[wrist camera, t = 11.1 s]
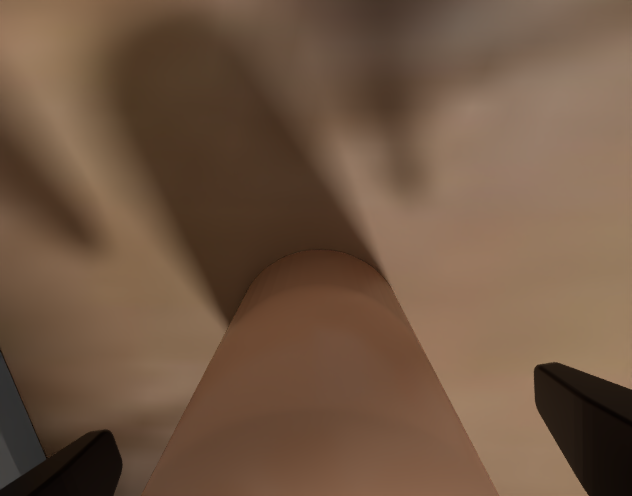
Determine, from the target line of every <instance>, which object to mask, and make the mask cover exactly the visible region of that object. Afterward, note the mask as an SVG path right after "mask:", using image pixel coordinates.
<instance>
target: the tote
mask: <svg viewBox="0 0 632 496" xmlns="http://www.w3.org/2000/svg"><path fill="white" fill-rule="evenodd" d="M45 460H46V457H45V454H44V452H43V450H42V447H41V445H40V443H39V440H38V438H37V436H36V433H35V431H34V429H33V426H32V424H31V422H30V419H29V417H28V415H27V412H26V410H25V408H24V405H23V403H22V401H21V398H20V396H19V394H18V391H17V389H16V387H15V384H14V382H13V380H12V377H11V375H10V373H9V370H8V368H7V366H6V363H5V361H4V359H3V356H2V354H1V352H0V489H2V488H3V487H5V486H6V485H8V484H9V483H11V482H12V481H14V480H15V479H17V478H19V477H20V476H22V475H23V474H25V473H26V472H28V471H29V470H31V469H32V468H34V467H35V466H37V465H39V464H40V463H42V462H43V461H45Z"/></svg>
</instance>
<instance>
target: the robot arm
mask: <svg viewBox="0 0 632 496" xmlns="http://www.w3.org/2000/svg"><path fill="white" fill-rule="evenodd" d="M534 389H535V403H536V406H537V409H538V412H539V413H540V415H541V417H542V419H543V420H544V422H545V424H546V426H547V427H548V429H549V431H550V432H551V434H552V436H553V437H554V439H555V441H556V443H557V444H558V446H559V448H560V449H561V451H562V453H563V455H564V456H565V458H566V460H567V461H568V463H569V465H570V467H571V468H572V470H573V472H574V473H575V475H576V477H577V478H578V480H579V482H580V483H581V485H582V486H583V488H584V489H585V491H586V492H587V494H588V495H589V496H632V390H631V389H629V388H626V387H623V386H620V385H618V384H615V383H612V382H609V381H607V380H604V379H601V378H599V377H596V376H593V375H590V374H588V373H585V372H582V371H580V370H577V369H574V368H571V367H569V366H566V365H563V364H560V363H557V362H553V363H546V364H540V365H537V366H536V367H535V369H534ZM122 465H123V464H122V458H121V455H120V453H119V450H118V447H117V444H116V442H115V439H114V436H113V434H112V432H111V431H109V430H107V429H105V430H98V431H91V432H88V433H86V434H85V435H83V436H82V437H80V438H79V439H77V440H76V441H74V442H72V443H71V444H69V445H68V446H66V447H65V448H63V449H62V450H60V451H59V452H57V453H56V454H54V455H52V456H51V457H49V458H48V459H46V460H45V461H43V462H42V463H40V464H39V465H37V466H35V467H34V468H32V469H31V470H29V471H28V472H26V473H25V474H23V475H22V476H20V477H19V478H17V479H15V480H14V481H12V482H11V483H9V484H8V485H6V486H5V487H3V488H2V489H0V496H113V495H114V492H115V490H116V487H117V484H118V481H119V478H120V476H121V472H122Z"/></svg>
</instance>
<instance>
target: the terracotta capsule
mask: <svg viewBox="0 0 632 496" xmlns="http://www.w3.org/2000/svg"><path fill="white" fill-rule="evenodd" d="M141 496H499V494H498V492H497V490H496V489H495V487H494V485H493V483H492V481H491V479H490V477H489V475H488V473H487V471H486V469H485V467H484V465H483V464H482V462H481V460H480V458H479V456H478V454H477V452H476V450H475V448H474V446H473V444H472V442H471V440H470V439H469V437H468V435H467V433H466V431H465V429H464V427H463V425H462V423H461V421H460V419H459V417H458V415H457V414H456V412H455V410H454V408H453V406H452V404H451V402H450V400H449V398H448V396H447V394H446V392H445V390H444V389H443V387H442V385H441V383H440V381H439V379H438V377H437V375H436V373H435V371H434V369H433V367H432V365H431V363H430V362H429V360H428V358H427V356H426V354H425V352H424V350H423V348H422V346H421V344H420V342H419V340H418V338H417V337H416V335H415V333H414V331H413V329H412V327H411V325H410V323H409V321H408V319H407V317H406V315H405V313H404V312H403V310H402V308H401V306H400V304H399V302H398V300H397V298H396V296H395V294H394V292H393V291H392V289H391V287H390V286H389V284H388V283H387V281H386V280H385V279H384V278H383V277H382V276H381V275H380V273H379V272H378V271H376V270H375V269H374V268H373V267H371V266H370V265H369V264H367V263H365V262H364V261H362V260H360V259H359V258H356V257H354V256H351V255H349V254H346V253H342V252H338V251H332V250H307V251H302V252H298V253H294V254H291V255H288V256H286V257H283V258H281V259H279V260H278V261H276V262H274V263H272V264H271V265H270V266H268V267H267V268H266V269H264V270H263V271H262V272H261V273H260V274H259V275H258V276H257V277H256V279H255V280H254V281H253V282H252V284H251V285H250V287H249V288H248V290H247V292H246V294H245V295H244V297H243V299H242V301H241V303H240V305H239V307H238V309H237V311H236V313H235V315H234V317H233V319H232V321H231V323H230V324H229V326H228V328H227V330H226V332H225V334H224V336H223V338H222V340H221V342H220V344H219V346H218V348H217V350H216V352H215V353H214V355H213V357H212V359H211V361H210V363H209V365H208V367H207V369H206V371H205V373H204V375H203V377H202V379H201V381H200V382H199V384H198V386H197V388H196V390H195V392H194V394H193V396H192V398H191V400H190V402H189V404H188V406H187V408H186V410H185V411H184V413H183V415H182V417H181V419H180V421H179V423H178V425H177V427H176V429H175V431H174V433H173V435H172V437H171V439H170V440H169V442H168V444H167V446H166V448H165V450H164V452H163V454H162V456H161V458H160V460H159V462H158V464H157V466H156V468H155V469H154V471H153V473H152V475H151V477H150V479H149V481H148V483H147V485H146V487H145V489H144V491H143V493H142V495H141Z"/></svg>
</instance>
